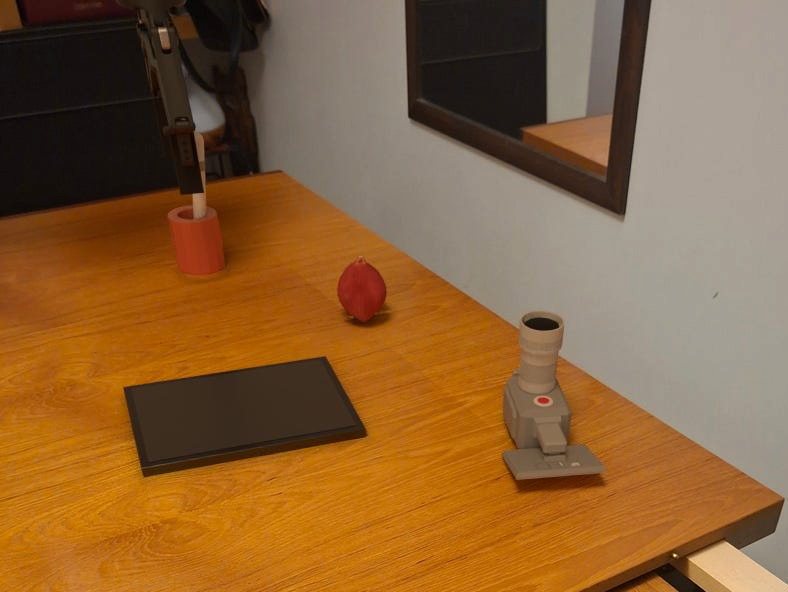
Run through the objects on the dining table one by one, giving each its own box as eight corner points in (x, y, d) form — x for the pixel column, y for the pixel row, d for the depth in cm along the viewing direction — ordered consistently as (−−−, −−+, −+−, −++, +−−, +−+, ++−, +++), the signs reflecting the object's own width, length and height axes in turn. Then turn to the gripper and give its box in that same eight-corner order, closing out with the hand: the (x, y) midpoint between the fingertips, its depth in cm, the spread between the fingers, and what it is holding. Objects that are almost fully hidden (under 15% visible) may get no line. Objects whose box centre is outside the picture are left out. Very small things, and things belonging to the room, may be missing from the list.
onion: (330, 319, 110) (324, 253, 104) (367, 306, 113) (363, 241, 107) (359, 336, 107) (354, 269, 101) (396, 322, 110) (394, 256, 104)
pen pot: (175, 262, 120) (164, 207, 115) (221, 257, 122) (212, 203, 117) (182, 280, 116) (170, 225, 111) (229, 275, 118) (220, 219, 113)
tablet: (125, 395, 96) (122, 386, 95) (326, 363, 102) (325, 355, 101) (143, 477, 85) (140, 467, 85) (366, 436, 91) (365, 427, 91)
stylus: (194, 262, 119) (188, 130, 108) (207, 262, 119) (202, 131, 108) (196, 267, 118) (190, 134, 107) (209, 267, 118) (204, 135, 107)
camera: (577, 303, 88) (621, 381, 78) (565, 408, 97) (603, 491, 86) (490, 307, 87) (523, 387, 77) (486, 413, 95) (514, 499, 85)
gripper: (199, -19, 88) (233, 206, 103) (164, -60, 105) (197, 140, 120) (119, -17, 86) (166, 213, 101) (96, -59, 103) (139, 145, 118)
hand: (183, 174), depth 111 cm, fingers open, 13 cm apart
